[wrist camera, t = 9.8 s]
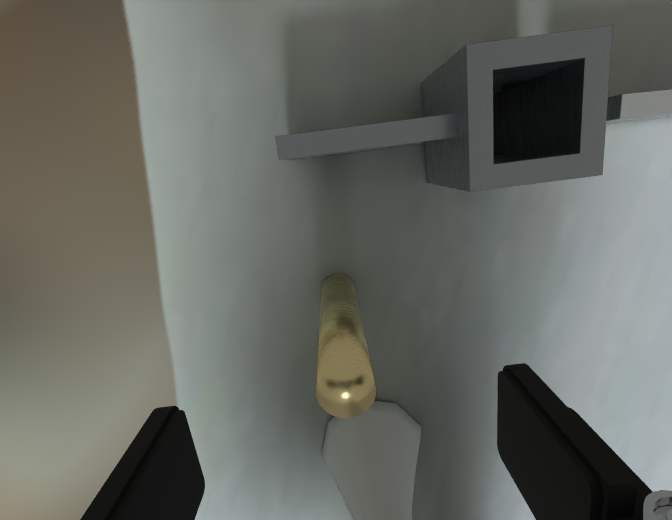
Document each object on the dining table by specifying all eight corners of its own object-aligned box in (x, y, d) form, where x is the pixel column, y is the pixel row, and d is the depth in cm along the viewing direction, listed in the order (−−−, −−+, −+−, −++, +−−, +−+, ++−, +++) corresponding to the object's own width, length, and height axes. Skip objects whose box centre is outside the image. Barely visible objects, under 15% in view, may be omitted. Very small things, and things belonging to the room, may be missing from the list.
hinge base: (518, 170, 22) (602, 174, 15) (297, 198, 22) (283, 215, 15) (519, 70, 21) (612, 25, 14) (282, 100, 21) (260, 71, 14)
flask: (351, 380, 26) (366, 512, 16) (437, 420, 27) (499, 565, 17) (305, 456, 27) (293, 616, 18) (388, 490, 28) (420, 659, 19)
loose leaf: (700, 114, 21) (825, 98, 16) (546, 129, 21) (620, 119, 16) (703, 95, 21) (831, 73, 16) (547, 111, 21) (622, 94, 16)
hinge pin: (356, 303, 24) (378, 414, 14) (323, 307, 24) (320, 421, 14) (353, 271, 24) (373, 362, 13) (319, 275, 24) (312, 369, 13)
